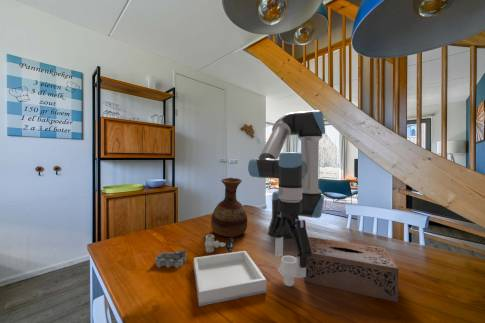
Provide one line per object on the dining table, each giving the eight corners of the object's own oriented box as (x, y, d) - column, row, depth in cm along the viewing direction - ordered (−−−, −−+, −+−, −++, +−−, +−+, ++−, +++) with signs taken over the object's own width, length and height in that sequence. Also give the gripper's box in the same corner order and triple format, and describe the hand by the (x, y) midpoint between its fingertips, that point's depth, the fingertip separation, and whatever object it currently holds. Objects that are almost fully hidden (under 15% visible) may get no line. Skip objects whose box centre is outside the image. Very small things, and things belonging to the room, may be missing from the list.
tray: (245, 260, 81) (245, 250, 81) (266, 292, 62) (266, 279, 62) (193, 268, 75) (193, 257, 75) (199, 306, 56) (199, 292, 56)
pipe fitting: (301, 290, 63) (302, 264, 63) (278, 288, 64) (278, 263, 64) (298, 278, 69) (299, 255, 69) (277, 276, 70) (277, 253, 70)
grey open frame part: (188, 259, 82) (188, 249, 82) (180, 269, 75) (180, 258, 75) (162, 257, 83) (163, 247, 83) (152, 267, 76) (152, 256, 76)
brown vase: (212, 241, 99) (213, 180, 98) (209, 227, 118) (209, 176, 118) (251, 238, 103) (252, 179, 103) (242, 225, 123) (242, 175, 122)
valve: (202, 253, 87) (229, 256, 84) (202, 238, 87) (229, 241, 84) (208, 247, 93) (233, 249, 91) (208, 232, 93) (233, 235, 91)
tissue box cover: (303, 281, 68) (304, 251, 68) (307, 261, 81) (307, 236, 81) (397, 303, 58) (398, 268, 58) (384, 276, 72) (385, 248, 71)
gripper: (263, 194, 77) (262, 250, 77) (302, 209, 53) (300, 291, 53) (281, 193, 79) (280, 248, 79) (326, 208, 55) (324, 286, 55)
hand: (288, 265), depth 66 cm, fingers open, 13 cm apart
